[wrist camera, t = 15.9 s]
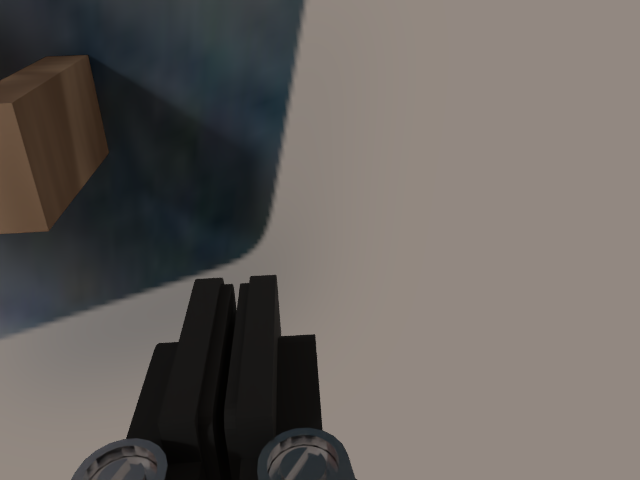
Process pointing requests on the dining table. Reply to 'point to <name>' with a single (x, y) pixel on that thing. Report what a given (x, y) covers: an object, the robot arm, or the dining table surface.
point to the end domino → (47, 141)
